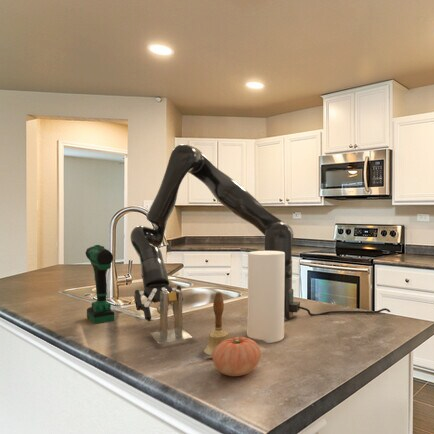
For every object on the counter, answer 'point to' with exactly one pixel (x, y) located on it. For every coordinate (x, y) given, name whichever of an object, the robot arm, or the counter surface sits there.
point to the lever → (169, 300)
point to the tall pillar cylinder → (266, 295)
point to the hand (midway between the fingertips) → (163, 317)
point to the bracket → (165, 334)
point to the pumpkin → (236, 356)
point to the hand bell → (216, 326)
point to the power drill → (100, 284)
